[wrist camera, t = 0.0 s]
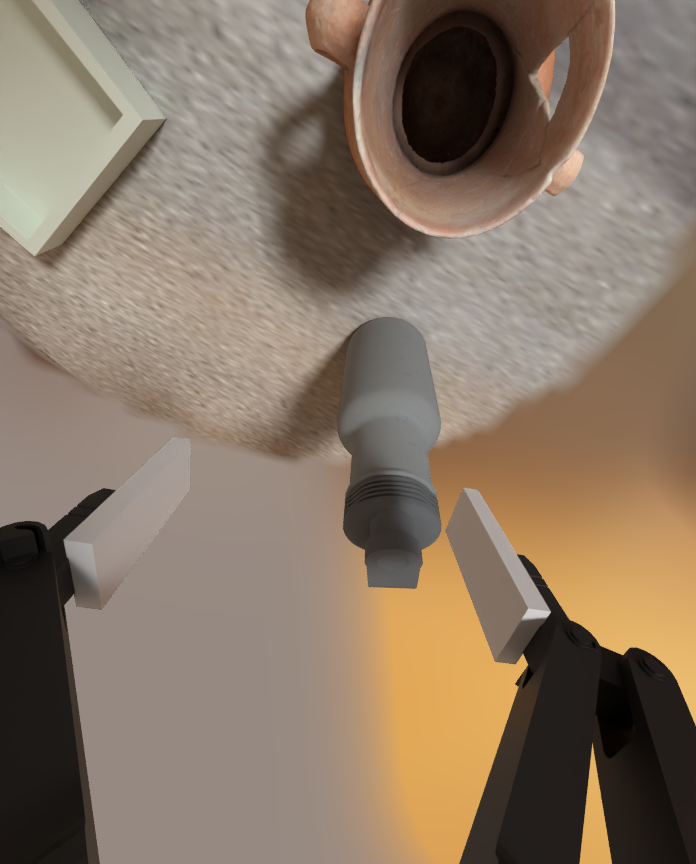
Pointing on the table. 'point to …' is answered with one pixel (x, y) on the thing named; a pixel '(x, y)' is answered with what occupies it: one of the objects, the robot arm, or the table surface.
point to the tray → (62, 119)
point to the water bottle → (389, 449)
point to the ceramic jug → (464, 101)
